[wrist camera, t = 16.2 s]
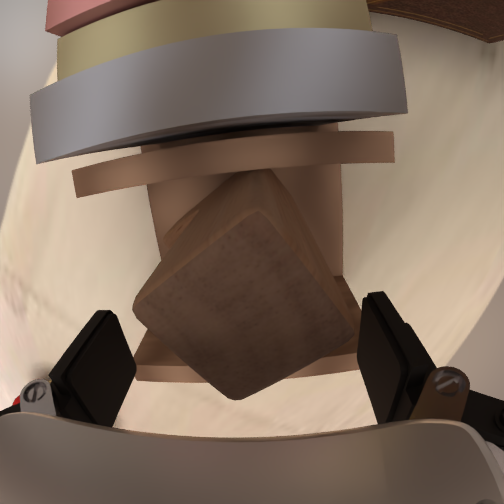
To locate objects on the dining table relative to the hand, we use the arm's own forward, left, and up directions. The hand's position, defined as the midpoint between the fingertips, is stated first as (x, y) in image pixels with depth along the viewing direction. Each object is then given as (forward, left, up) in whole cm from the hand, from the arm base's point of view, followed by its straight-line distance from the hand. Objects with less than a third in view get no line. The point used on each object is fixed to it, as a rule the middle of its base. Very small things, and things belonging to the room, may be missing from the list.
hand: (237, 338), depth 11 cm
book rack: (0, -5, -17) cm, 18 cm away
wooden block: (+1, -1, -16) cm, 16 cm away
